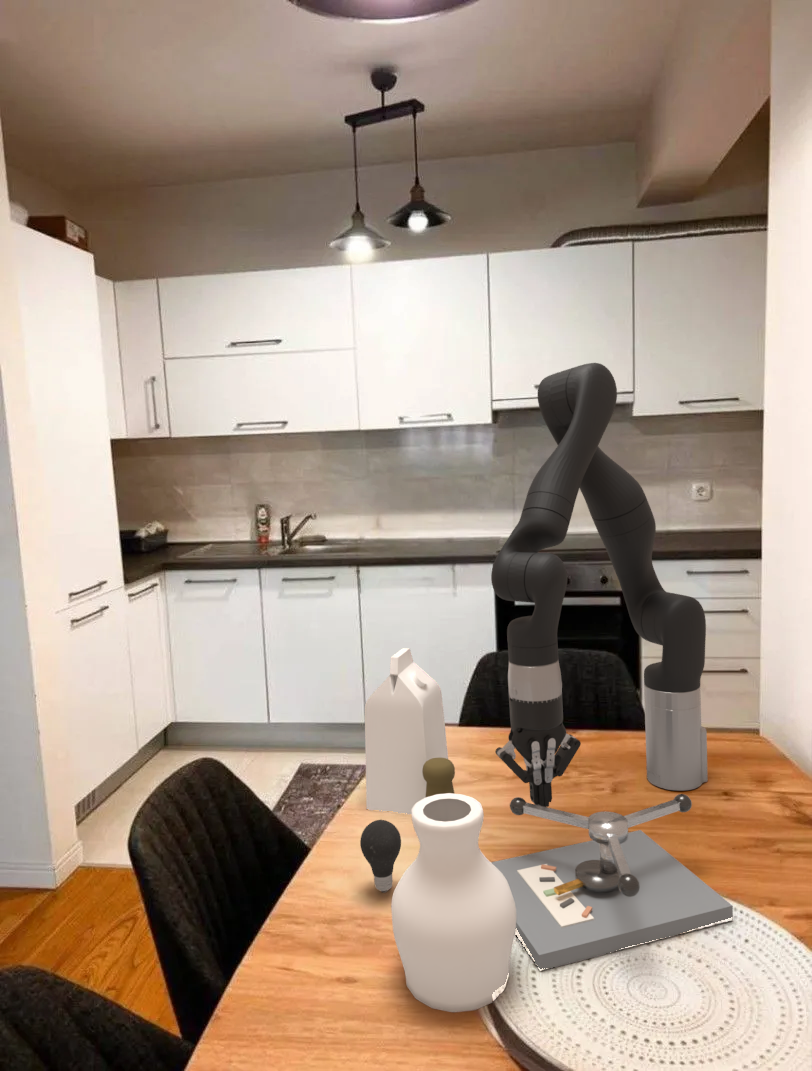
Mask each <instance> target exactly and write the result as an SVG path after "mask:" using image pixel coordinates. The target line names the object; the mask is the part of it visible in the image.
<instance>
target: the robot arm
mask: <svg viewBox="0 0 812 1071" xmlns="http://www.w3.org/2000/svg"><path fill="white" fill-rule="evenodd" d="M616 384H617V383H616V380H615V378H614V376H613V374H612V372H611V370H609V368H608V367H606V366H605V365H604V364H602V363H599V362H591V363H590V362H589V363H584V364H580V365H577V366H574V367H571V368H569V369H565V370H561V371H558V372H555V373H552V374H549V375H547V376H545V377H544V378H543V379H542V380H541V381H540V383H539V385H538V389H537V403H538V406H539V410H540V413H541V415H542V418H543V421H544V422H545V424H546V427H547V429H548V431H549V432H550V434H551V435H552V436H551V437H552V438H553V440H554V441H555V443H556V445H557V446H556V448H555V449H554V450H553V452H552V453H551V455H550V456H549V457H548V458H547V459H546V461H545V462H544V463H543V465H542V466H541V467H540V468H539V470H538V471H537V473H536V474H535V476H534V478H533V480H532V481H531V483H530V486H529V488H528V492H527V494H526V498H525V499H524V504H523V507H522V511H521V514H520V518H519V521H518V522H517V524H516V525H515V527H514V528H513V529H512V531H511V532H510V535H509V536H508V537H507V539H506V541H505V542H504V544H503V545H502V547H501V549H500V551H499V552H498V553H497V555H496V556H495V557H496V558H495V560H494V562H493V565H492V569H491V573H490V576H491V579H490V580H491V586H492V590H493V591H494V593H495V594H496V596H497V597H499V598H500V599H502V600H503V601H504V600H505V601H509V602H522V603H532V604H533V603H534V609H533V612H532V615H527V616H520V617H517V618H515V619H512V620H511V621H510V622H509V624H508V626H507V627H506V628H507V629H506V636H507V638H506V640H507V641H506V642H507V656H508V671H507V685H508V686H507V687H508V702H509V703H508V704H509V718H510V720H509V721H510V731H509V734H508V741H507V743H505V744H504V746H503V747H501V746H499V747H497V748H495V754H496V755H497V757H499V759H500V760H501V761H502V762H503V763H504V764H505V765H506V766H507V767H508V768H509V769H510V770H511V772H512V773H513V774H514V775H515V776H517V777H518V778H519V779H520V780H521V782H523V784H529V785H528V786H529V798H530V800H531V802H532V804H535V805H540V806H544V807H548V808H550V803H552V801H553V791H552V790H553V789H552V781H553V779H555V778H556V777H562V776H563V775H564V774H565V772H566V770H567V768H568V767H569V765H570V763H571V761H572V760H573V758H574V756H575V755H576V753H577V752H578V750H579V749H580V746H581V745H582V744H581V743H582V742H581V741H580V740H579V739H578V738H577V737H575V736H574V735H572V734H568V733H567V729H566V727H565V725H564V723H563V722H564V712H563V710H564V708H563V705H564V704H563V692H562V688H563V681H562V675H561V674H562V672H561V668H560V663H559V662H560V661H559V647H558V646H559V645H558V630H559V629H558V628H559V622H560V617H561V612H562V607H563V603H564V599H565V594H566V591H567V585H568V572H567V569H566V565H565V564H564V562H563V560H562V559H561V558H560V557H559V556H558V555H557V554H554V553H550V552H540V551H542V550H545V549H548V548H552V547H556V546H559V545H560V544H562V543H563V542H564V540H565V539H566V537H567V533H568V530H569V528H570V527H569V525H570V522H571V520H572V515H573V511H574V508H575V504H576V500H577V498H578V493H579V490H580V493H581V494H582V497H583V498H584V500H585V503H586V506H587V509H588V512H589V514H590V516H591V519H592V521H593V524H594V525H595V528H596V531H597V533H598V534H599V537H600V539H601V541H602V543H603V546H604V547H605V550H606V552H607V555H608V557H609V560H610V562H611V564H612V567H613V569H614V572H615V574H616V577H617V579H618V583H619V585H620V588H621V591H622V594H623V599H624V602H625V604H626V608H627V611H628V614H629V618H630V621H631V623H632V626H633V628H634V630H635V632H636V633H637V635H639V637H640V638H642V639H643V640H645V641H647V642H649V643H652V644H656V645H659V646H662V650H661V651H662V653H661V661H658V662H654V663H650V664H649V665H647V666H646V667H645V668H644V670H643V688H644V690H643V691H644V692H643V693H644V694H643V697H644V720H645V721H644V723H645V724H644V725H645V755H646V756H645V757H646V779H647V780H648V782H649V783H650V784H652V785H653V786H655V787H657V788H661V789H665V790H669V791H678V792H680V791H682V792H683V791H691V790H695V789H697V788H699V787H700V786H701V785H702V784H703V783H707V782H708V738H707V736H708V734H707V728H706V727H704V726H702V702H701V678H702V674H703V672H704V668H705V664H706V663H705V662H706V635H707V634H706V633H707V631H706V630H707V622H706V615H705V611H704V608H703V606H702V603H701V602H700V601H699V600H698V599H696V598H694V597H692V596H689V595H684V594H679V593H674V592H669V591H666V590H665V589H664V587H663V586H662V584H661V582H660V580H659V578H658V576H657V574H656V571H655V569H654V564H653V559H652V558H653V557H652V556H653V550H654V546H655V545H654V544H655V541H656V540H655V539H656V532H657V530H656V529H657V528H656V527H657V525H656V521H655V517H654V516H655V515H654V514H653V513H654V512H653V511H652V509H651V506H650V504H649V501H648V499H647V496H646V493H645V492H644V489H643V487H642V486H641V484H640V483H639V482H638V481H637V480H636V479H635V478H634V476H632V475H631V474H630V473H629V472H628V471H627V470H625V469H624V468H623V467H622V466H621V465H619V463H617V462H615V461H614V460H613V459H612V458H610V457H609V455H607V454H606V453H605V452H604V451H603V450H602V449H601V448H600V446H599V444H600V443H601V440H602V438H603V436H604V434H605V431H606V429H607V427H608V425H609V423H610V421H611V418H612V416H613V414H614V412H615V409H616V405H617V398H618V389H617V385H616ZM515 750H516V751H517V752H518V754H520V755H521V756H522V758H523V762H524V764H525V769H523V768H522V767H521V766H520V765H519V764H518V763H517V762H516V760H515V759H516V753H515Z"/></svg>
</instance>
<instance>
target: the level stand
mask: <svg viewBox="0 0 812 1071" xmlns="http://www.w3.org/2000/svg"><path fill="white" fill-rule="evenodd" d="M620 846H621V849H622V851H623V854H624V857H625V859H626V862H627V864H628V867H629V870H630V872H631V874H632V875H634V876H635V877H636V878H637V879H638V881H639V884H640V889H639V892H638V893H637V894H636V895H635V896H633V897H628V896H625V895H623V894H622V893H621V892H620V890H619V889H617V890H615V891H612V892H607V893H598V892H592V891H589V890H586V889H584V888H582V887H580V888H577V889H574V890H572V891H569V892H566V893H564V894H561V895H557V894H556V893H555V892H554V887H556V886H559V885H562V884H565V883H567V882H570V881H573V880H576V878H575V869H576V867H577V866H578V865H579V864H580V863H582V862H584V861H588V860H600V849H599V843H597V842H595V841H593V840H592V839H591V840H589V841H588V840H587V841H583V842H579V843H575V844H569V845H566V846H560V847H555V848H552V849H551V848H550V849H546V850H542V851H537V852H532V853H529V854H523V855H518V856H514V857H510V858H505V859H504V858H503V859H501V860H500V859H499V860H495V861H490V862H491V863H492V864H493V865H494V866H495V867H496V868H497V869H498V870H499V871H500V872H501V873H502V874H503V875H504V877H505V878H506V880H507V882H508V885H509V887H510V890H511V893H512V896H513V899H514V902H515V907H516V928H517V930H518V932H519V934H520V936H521V937H522V939H523V941H524V943H525V944H526V946H527V948H528V949H529V951H530V953H531V954H532V957H533V958H534V960H535V962H536V964H537V965H538V967H539V968H540V969H542V968H543V969H544V968H545V969H546V968H551V969H554V968H553V967H555V968H558V967H562V966H565V965H569V964H573V963H577V962H582V961H585V960H588V959H589V960H590V959H592V958H597V957H599V956H605V955H607V954H606V953H608V954H611V953H610V952H612V953H615V952H614V951H616V950H619V949H621V948H625V947H628V946H632V945H637V944H640V943H645V942H649V941H652V940H656V939H660V938H665V937H669V936H673V937H675V936H674V935H677V934H680V933H683V932H687V931H689V930H692V929H695V928H698V927H701V926H705V925H709V924H711V923H715V922H718V921H721V920H725V919H728V918H731V917H733V916H734V914H733V912H734V911H733V904H731V903H730V902H729V901H727V900H726V899H725V898H724V897H723V896H721V895H720V894H719V893H718V892H717V891H716V890H714V889H713V888H712V887H711V886H710V885H708V884H707V883H705V882H704V881H703V880H702V879H701V878H700V877H698V876H697V875H696V874H695V873H694V872H693V871H691V870H690V869H689V868H687V867H686V866H685V865H683V864H682V862H680V861H679V860H678V859H677V858H675V857H674V856H673V855H672V854H670V853H669V852H668V851H666V849H664V848H663V847H662V846H661V845H659V844H658V843H657V842H656V841H654V840H653V839H652V838H651V837H649V835H647V834H646V833H645V832H644V831H643V830H641V829H638V830H635V831H630V832H629V831H628V839H627V841H625V842H624V843H622V844H620ZM677 936H678V935H677ZM669 938H670V937H669ZM616 952H617V951H616Z"/></svg>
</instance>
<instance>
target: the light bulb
mask: <svg viewBox="0 0 812 1071" xmlns="http://www.w3.org/2000/svg"><path fill="white" fill-rule="evenodd" d="M359 842H360V849H361V850H360V851H361V852H362V855H363V857H364V858H365V859H366V861H367V862H368V864H369V865H370V868H371V872H372V875H373V877H374V878H373V881H374V886H375V889H376V890H378V891H380V892H381V893H385V894H386V893H387V892H389V890H390V889H391V888H392V887H393V880H394V879H393V872H394V865H395V862H396V860H397V858H398V856H399V854H400V850H401V847H402V838H401V834H400V831H399V829H398V828H397V827H396V826H395V824H394V823H392V822H390V821H388V820H386V819H376V820H373V821H372V822H369V824H367V825H366V826H365V828H364V829H363V830H362V833H361V836H360V840H359Z"/></svg>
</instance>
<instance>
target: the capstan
mask: <svg viewBox="0 0 812 1071" xmlns="http://www.w3.org/2000/svg"><path fill="white" fill-rule="evenodd" d="M692 805H693V802H692V800H691V798H690V797H689V795H687V794H684V793H678V794H676V796H674V798H673V799H672V800H669V801H666V802H662V803H659V804H656V805H652V806H649V807H648V808H644V809H641V810H638V811H635V812H632V813H629V814H626V815H623V814H620V813H618V812H613V811H597V812H594V813H592V814H590V815H589V816H585V815H581V814H576V813H573V812H568V811H564V810H560V809H555V808H551V807H544V806H540V805H535V804H534V803H531V802H527V801H526V800H525V799H524V798H522V797H519V796H516V797H513V798H512V799H511V801H510V802H509V809H510V811H511V812H512V813H513V814H514V815H516V816H522V815H523V814H526V815H529V816H534V817H537V818H541V819H546V820H549V821H552V822H553V821H554V822H557V823H562V824H566V825H571V826H574V827H578V828H582V829H585V830H588V837H589V838H590V839H591V841H592V840H593V841H595V842H597V843H599V849H600V860H588V861H584V862H582V863H580V864H579V865H578V866H577V867H576V869H575V878H576V880H573V881H570V882H567V883H565V884H562V885H559V886H556V887H554V892H555V893H556V894H557V895H561V894H564V893H566V892H569V891H572V890H574V889H577V888H580V887H582V888H584V889H586V890H589V891H592V892H598V893H607V892H612V891H615V890H617V889H619V890H620V892H621V893H622V894H623V895H625V896H628V897H633V896H635V895H636V894H637V893H638V892H639V889H640V884H639V881H638V879H637V878H636V877H635V876H634V875H632V874H631V872H630V870H629V867H628V864H627V862H626V859H625V857H624V854H623V851H622V849H621V846H620V844H622V843H624V842H625V841H627V839H628V833H629V829H630V828H632V827H635V826H637V825H642V824H643V823H647V822H650V821H653V820H655V819H658V818H662V817H664V816H667V815H670V814H673V813H677V812H680V813H687V812H689V811H690V810H691V809H692Z"/></svg>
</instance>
